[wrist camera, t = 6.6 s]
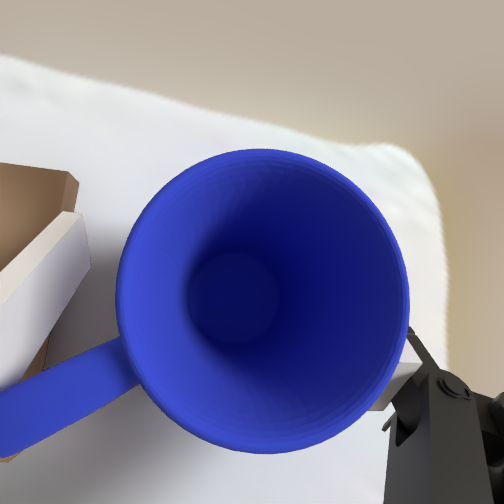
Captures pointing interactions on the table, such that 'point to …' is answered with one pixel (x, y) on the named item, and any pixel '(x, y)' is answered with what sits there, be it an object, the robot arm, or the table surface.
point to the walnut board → (31, 220)
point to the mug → (241, 311)
